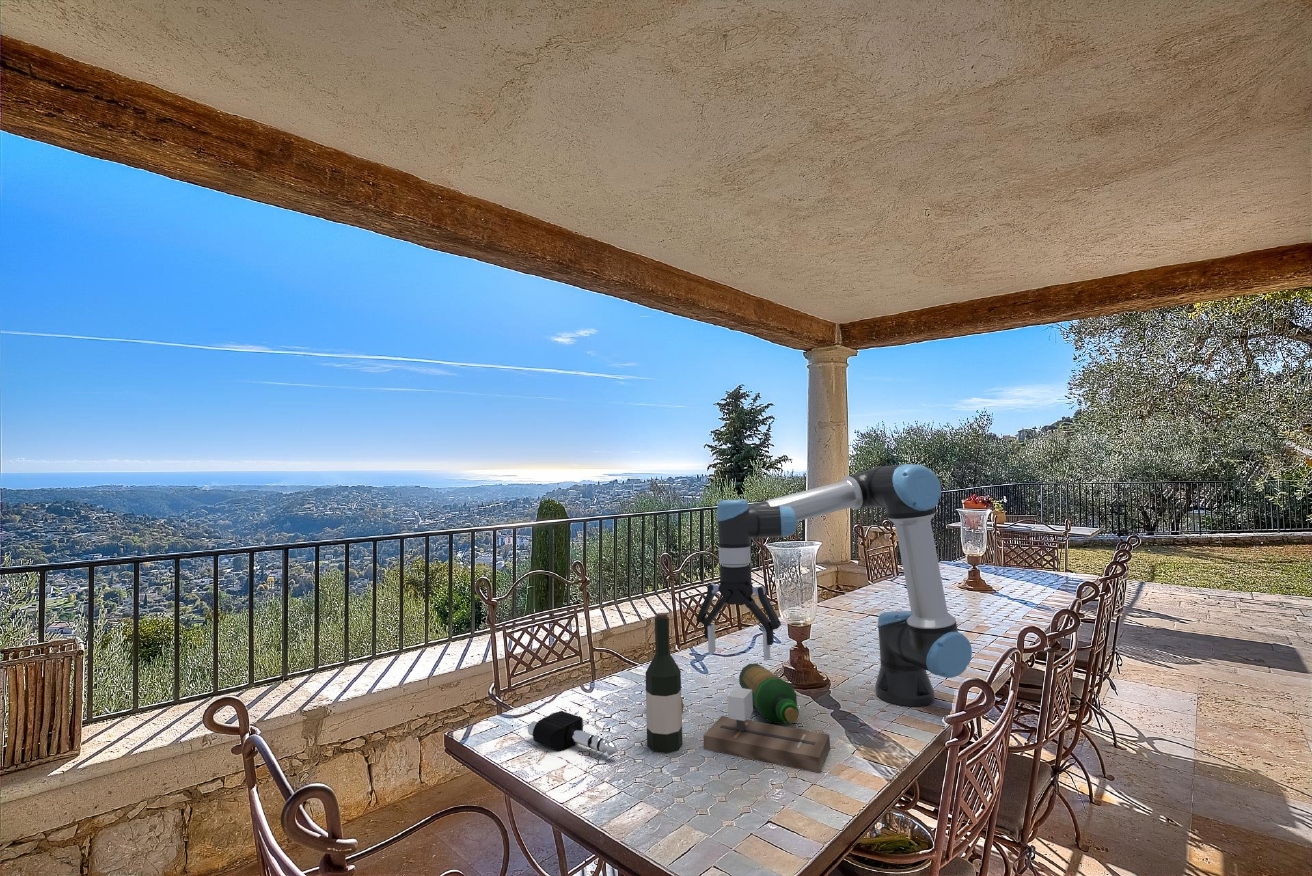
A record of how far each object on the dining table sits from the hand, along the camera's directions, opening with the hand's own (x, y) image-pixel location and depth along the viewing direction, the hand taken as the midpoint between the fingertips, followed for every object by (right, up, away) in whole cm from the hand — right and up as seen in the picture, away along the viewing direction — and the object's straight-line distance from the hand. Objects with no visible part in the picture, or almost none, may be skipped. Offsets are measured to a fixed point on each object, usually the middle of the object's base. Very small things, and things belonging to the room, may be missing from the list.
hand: (739, 655), depth 133 cm
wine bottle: (-18, -21, -2) cm, 27 cm away
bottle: (+8, -17, +28) cm, 34 cm away
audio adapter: (-38, -21, -2) cm, 43 cm away
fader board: (+6, -19, -4) cm, 21 cm away
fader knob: (0, -17, -1) cm, 17 cm away
